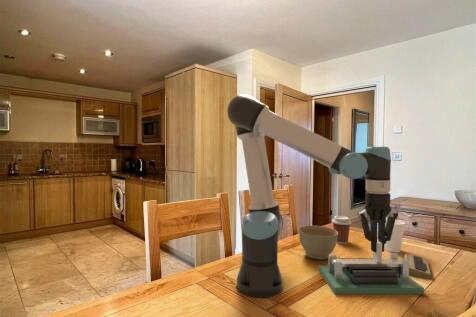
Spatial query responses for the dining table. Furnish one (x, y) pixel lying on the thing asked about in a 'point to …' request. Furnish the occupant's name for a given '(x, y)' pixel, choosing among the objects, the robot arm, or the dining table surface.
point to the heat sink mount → (370, 272)
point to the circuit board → (350, 288)
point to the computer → (418, 266)
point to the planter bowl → (318, 241)
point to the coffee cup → (341, 228)
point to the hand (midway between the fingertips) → (377, 260)
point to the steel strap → (368, 262)
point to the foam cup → (395, 237)
